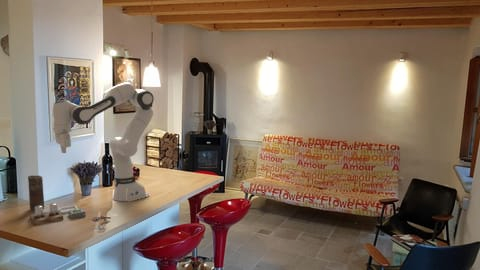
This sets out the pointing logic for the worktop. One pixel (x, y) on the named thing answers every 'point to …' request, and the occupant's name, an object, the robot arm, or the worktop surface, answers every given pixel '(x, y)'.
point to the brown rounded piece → (35, 192)
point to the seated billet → (38, 212)
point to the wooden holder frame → (46, 218)
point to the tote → (67, 209)
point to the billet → (53, 209)
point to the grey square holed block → (76, 213)
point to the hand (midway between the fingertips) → (63, 152)
